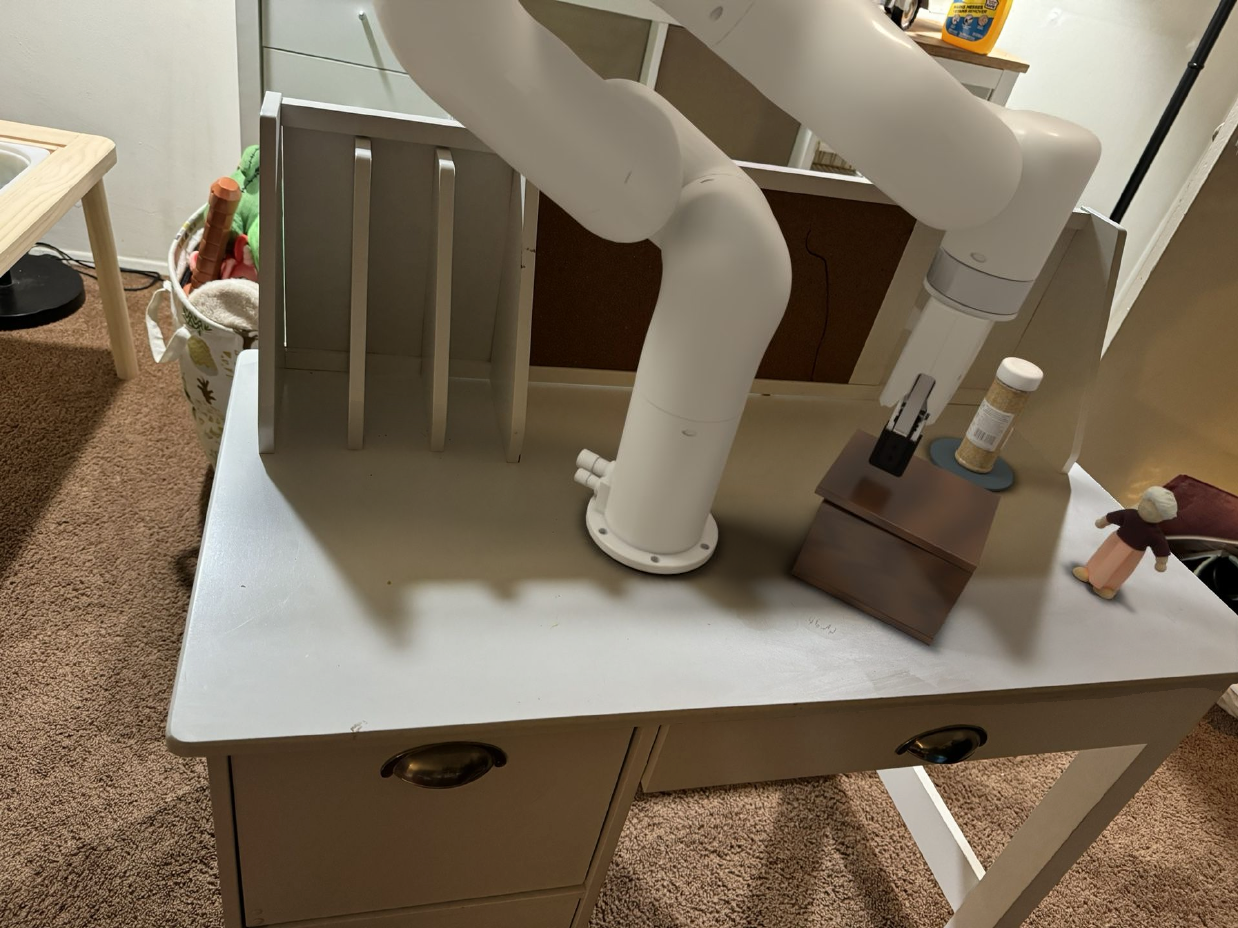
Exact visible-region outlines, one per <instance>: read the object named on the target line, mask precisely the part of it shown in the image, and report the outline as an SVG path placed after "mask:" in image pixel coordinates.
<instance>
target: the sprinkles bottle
mask: <svg viewBox="0 0 1238 928" xmlns="http://www.w3.org/2000/svg"><path fill="white" fill-rule="evenodd" d="M1043 378H1044V373H1043V370H1042V369H1041V368H1040V367H1039V366H1037V365H1036V364H1034V363H1032V362H1030V361H1028V360H1025V359H1023V358H1019V357H1013V356H1010V357H1005V358H1003V360H1002V361H1001V362H1000V365H999V366H998V368H997V370H996V372H995V376H994V380H993V382H992V384H991V385H990V386H989V389H988V391H987V393H986V395H985V396H984V398H983V400H982V402H981V403H980V405H979V407H978V409H977V411H976V412H975V415H974V417H973V419H972V420H971V422H970V424H969V427H968V429H967V431H966V433H965V436H964V438H963V439H962V440H963V441H962V443H961V445H960V447H959V449H958V450H957V451H956V453H955V458H956V460H957V461H958V462H959V463H960V464H961V465H962V466H963V467H965V468H967V469H969V470H971V471H974V472H978V473H987V472H989V471H991V469H992V468H993V464H994V462H995V460H996V459H997V457H999V455H1000V453H1001V451H1002V450H1003V449H1004V447H1005V445H1006V443H1007V442H1008V440H1009V438H1010V437H1011V434H1012V432H1013V431H1014V429H1015V426H1016V424H1017V422H1018V421H1019V419H1020V418H1021V415H1022V413H1023V411H1024V409H1025V407H1026V406H1027V403H1028V402H1029V400H1030V398H1031V396H1032V395H1033V393H1034V392H1035V391H1036V390H1037V389H1038V388H1039V386H1040V384H1041V382H1042V380H1043Z"/></svg>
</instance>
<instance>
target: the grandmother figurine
mask: <svg viewBox="0 0 1238 928" xmlns="http://www.w3.org/2000/svg"><path fill="white" fill-rule="evenodd" d="M1177 512H1178V503H1177V500H1176V498H1175V493H1173V492H1172V491H1170V490H1169V489H1167V488H1164V487H1163V486H1159V485H1158V486H1157V485H1154V486H1151V487H1148V488H1147V489H1146V490H1145V491H1144V492H1143V493H1142V498H1141V501H1140V502H1139V503H1138V505H1137V509H1136V508H1122V509H1118V510H1113V511H1110V512H1108V513H1107V514H1105V515H1103V516H1102V517H1100V518H1097V519H1096V520H1095V522H1094V526H1095V528H1097V529H1100V530H1103V529H1106V527H1109V526H1111V525H1116V526H1118V528H1117V529H1115V530H1114V531H1112V532H1111V533H1110V534H1109V535H1108V536H1107V537H1106V538H1105V540H1104V541H1103V542H1102V544H1101V545H1100V546H1099V547H1098V549H1096V551H1095V552H1094V553H1093V554H1092V555H1091V556H1090V558H1089V559H1088V560H1087V562H1086V563H1085V566H1076V567H1074V568H1073V569H1072V570H1071V571H1072V575H1074V577H1076V578H1077V580H1079V581H1081V582H1085V583H1090V584H1091V585H1092V591H1093V592H1094V593H1095V594H1097V595H1098V596H1099V597H1101V598H1102V599H1105V600H1111V599H1113V598H1114V597H1115V596H1116V595H1117V591H1118V590H1119V589H1120V588H1121V587H1122V586H1123V584H1124V583H1125V582H1126V581H1127V580H1128V579H1129V578H1130V576H1131V575H1132V574H1133V573H1134V571H1135V570H1136V569H1137V567H1138V565H1139V564H1140V563H1141V561H1142V560H1143V558H1144V556H1145V554H1146V552H1147V549H1148V547H1149V549H1151V552H1152V554H1153V556H1154V557H1155V559H1154V560H1155V563H1154V565H1153V566H1154V570H1155V571H1156V572H1158V573H1165V572H1166V571H1167V569H1168V566H1167V564H1168V562H1169V557H1170V556H1171V555H1172V551H1171V549H1170V546H1169V542H1168V540H1167V538H1166V536H1165V533H1164V532H1163V531H1162V529H1161V527H1160V526H1159V524H1158V523H1161V522H1163V521H1166V520H1172V519H1174V518H1177Z"/></svg>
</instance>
